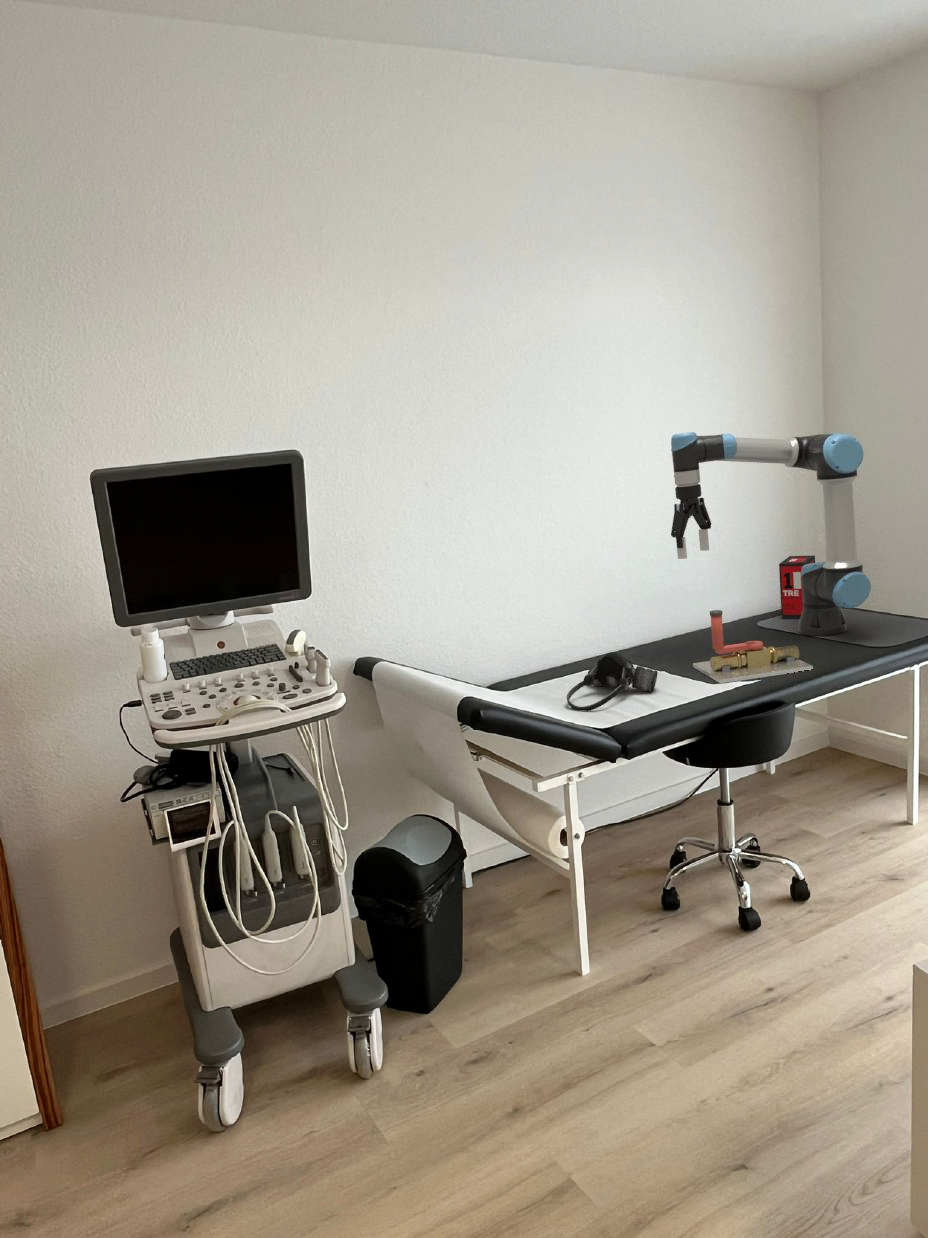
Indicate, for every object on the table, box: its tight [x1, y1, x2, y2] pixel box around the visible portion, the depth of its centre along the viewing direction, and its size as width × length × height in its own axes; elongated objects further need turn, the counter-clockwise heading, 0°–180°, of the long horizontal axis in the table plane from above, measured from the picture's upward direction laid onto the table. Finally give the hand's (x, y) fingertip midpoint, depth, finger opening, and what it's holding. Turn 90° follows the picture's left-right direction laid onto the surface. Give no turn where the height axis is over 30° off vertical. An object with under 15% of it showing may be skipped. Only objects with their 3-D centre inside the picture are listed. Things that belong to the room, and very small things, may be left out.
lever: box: [709, 609, 764, 655], centre depth 286 cm, size 15×5×12 cm, turn 98°
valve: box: [692, 644, 814, 684], centre depth 289 cm, size 28×21×6 cm
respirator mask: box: [566, 652, 658, 712], centre depth 277 cm, size 22×24×17 cm
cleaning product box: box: [778, 554, 816, 620], centre depth 351 cm, size 16×9×20 cm, turn 149°
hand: (693, 554), depth 298 cm, fingers open, 13 cm apart
